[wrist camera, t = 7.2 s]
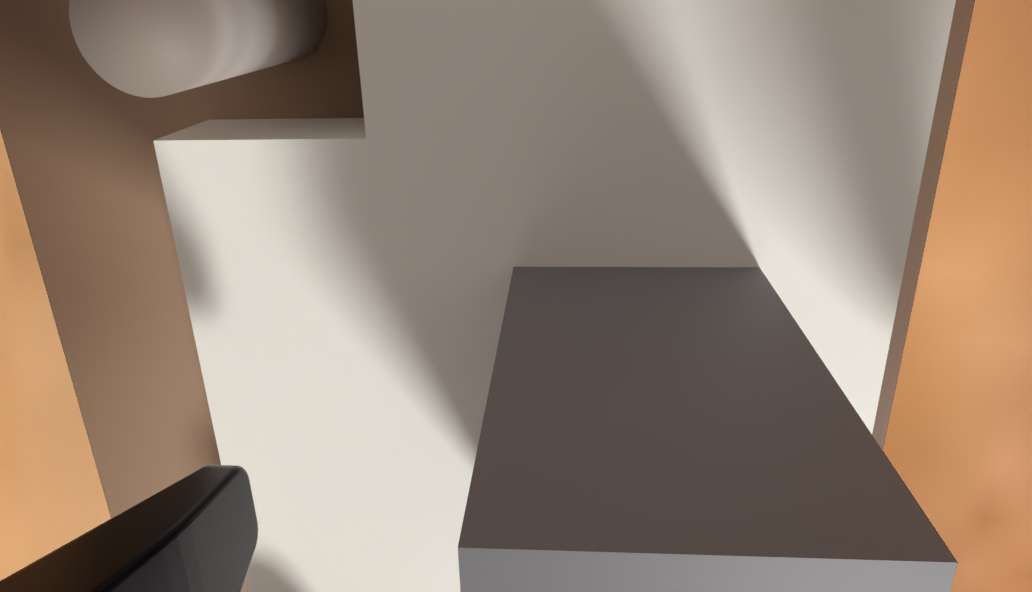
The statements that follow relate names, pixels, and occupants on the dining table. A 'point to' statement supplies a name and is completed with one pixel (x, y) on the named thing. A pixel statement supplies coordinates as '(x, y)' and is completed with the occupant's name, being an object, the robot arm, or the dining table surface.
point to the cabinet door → (572, 299)
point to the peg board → (142, 205)
